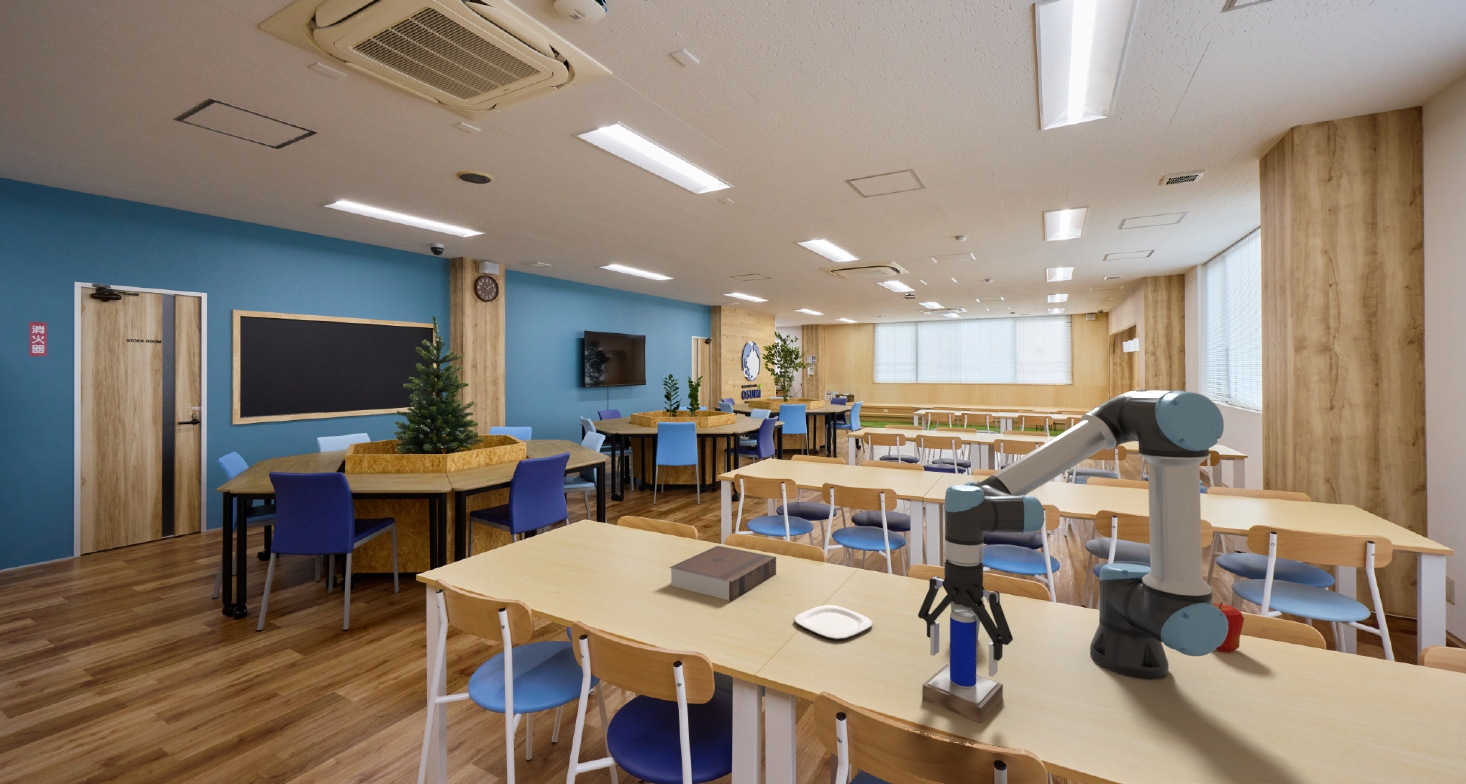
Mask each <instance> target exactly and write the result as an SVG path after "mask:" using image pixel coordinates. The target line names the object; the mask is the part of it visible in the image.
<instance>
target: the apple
mask: <svg viewBox="0 0 1466 784" xmlns="http://www.w3.org/2000/svg"><path fill="white" fill-rule="evenodd" d="M1212 604H1213V605H1214V606H1216V607H1218V608H1219V609H1220V610H1221V612H1222V613H1224V614H1225V616H1226V618H1227V621H1228V633H1227V636H1226V638H1225V640H1224V642H1223V643H1222V644H1221V646H1219V647H1217V648H1216V650H1215V651H1218V652H1222V653H1233V652H1234V651H1236V650H1238V649H1239V648H1240V641H1241V633H1242V629H1243V626H1244V622H1245V621H1244V620H1245V618H1244V616H1243V613H1242V612H1241V611H1240V610H1239V609H1238V608H1235V607H1233V606H1231V605H1226V604H1223V601H1221V602H1220V603H1214V602H1212Z"/></svg>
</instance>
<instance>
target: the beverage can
mask: <svg viewBox="0 0 1466 784" xmlns="http://www.w3.org/2000/svg"><path fill="white" fill-rule="evenodd" d="M949 614H950V615H949V665H950V680H951V681H952V683H953V684H954V685H955V686H957V687H960V688H964V689H970V688H973V687H974V686H975V685H976V675H977V640H976V636H977V619H976V616H975V613H974V612H973V611H971V610H968V609H964V608H955V609H953V610H952V611H951V610H950V613H949Z"/></svg>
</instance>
